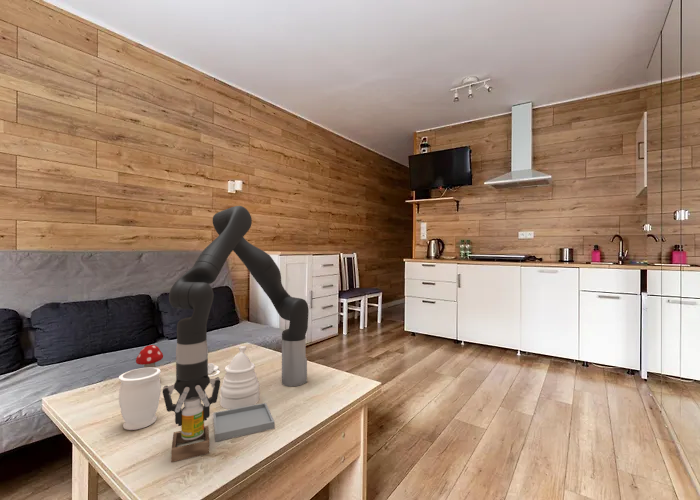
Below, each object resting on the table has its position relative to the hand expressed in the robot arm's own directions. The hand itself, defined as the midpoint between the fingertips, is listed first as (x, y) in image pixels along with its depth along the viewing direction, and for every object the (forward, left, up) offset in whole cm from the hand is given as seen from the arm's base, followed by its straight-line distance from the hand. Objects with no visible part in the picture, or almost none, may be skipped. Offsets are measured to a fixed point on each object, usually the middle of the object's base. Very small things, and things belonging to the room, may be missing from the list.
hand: (192, 421), depth 87 cm
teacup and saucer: (-9, -54, -8) cm, 55 cm away
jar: (+14, -20, -7) cm, 26 cm away
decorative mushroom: (+15, -51, -7) cm, 54 cm away
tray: (-14, -7, -7) cm, 17 cm away
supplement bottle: (0, 0, -4) cm, 4 cm away
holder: (0, 0, -7) cm, 7 cm away
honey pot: (-15, -23, -7) cm, 28 cm away
